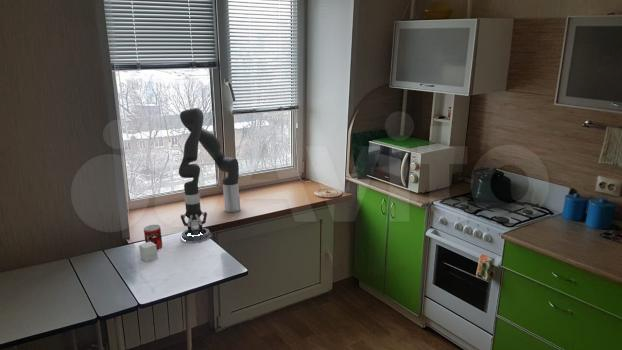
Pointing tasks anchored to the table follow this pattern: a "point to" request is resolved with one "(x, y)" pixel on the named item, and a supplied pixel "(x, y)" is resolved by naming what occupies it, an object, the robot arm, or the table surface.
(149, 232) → the canned food
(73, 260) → the table surface
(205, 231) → the ring
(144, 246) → the product box
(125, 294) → the table surface
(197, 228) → the piston
